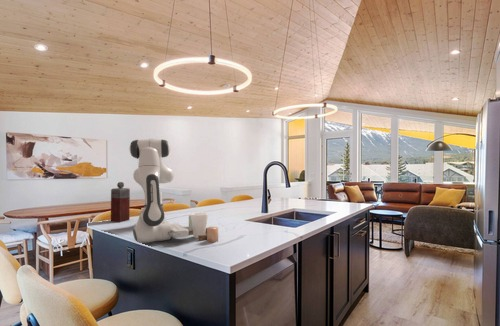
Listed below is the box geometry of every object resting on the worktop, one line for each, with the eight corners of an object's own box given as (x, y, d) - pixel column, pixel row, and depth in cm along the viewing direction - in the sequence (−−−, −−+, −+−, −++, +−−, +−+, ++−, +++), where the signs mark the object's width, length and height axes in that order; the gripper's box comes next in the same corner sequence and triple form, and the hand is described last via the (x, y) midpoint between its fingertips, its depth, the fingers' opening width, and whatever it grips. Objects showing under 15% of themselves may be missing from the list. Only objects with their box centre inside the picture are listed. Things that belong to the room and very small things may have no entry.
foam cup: (202, 239, 151) (202, 215, 152) (187, 238, 155) (187, 214, 155) (210, 235, 160) (210, 213, 160) (196, 234, 164) (196, 212, 164)
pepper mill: (117, 218, 209) (118, 181, 209) (129, 219, 205) (130, 181, 205) (108, 221, 201) (108, 182, 201) (120, 222, 197) (120, 182, 197)
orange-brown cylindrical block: (206, 239, 151) (206, 226, 151) (217, 239, 153) (217, 226, 153) (207, 242, 145) (207, 229, 146) (219, 242, 147) (219, 228, 147)
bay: (199, 240, 150) (199, 235, 150) (189, 234, 164) (189, 229, 164) (218, 237, 155) (218, 233, 155) (206, 231, 169) (207, 227, 169)
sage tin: (188, 231, 170) (188, 215, 171) (197, 230, 174) (198, 214, 174) (191, 233, 165) (192, 216, 165) (201, 232, 168) (201, 215, 169)
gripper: (171, 229, 140) (197, 226, 147) (161, 222, 157) (185, 219, 164) (171, 241, 140) (197, 238, 147) (161, 233, 157) (185, 230, 164)
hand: (191, 228), depth 156 cm, fingers closed, pressing on foam cup
